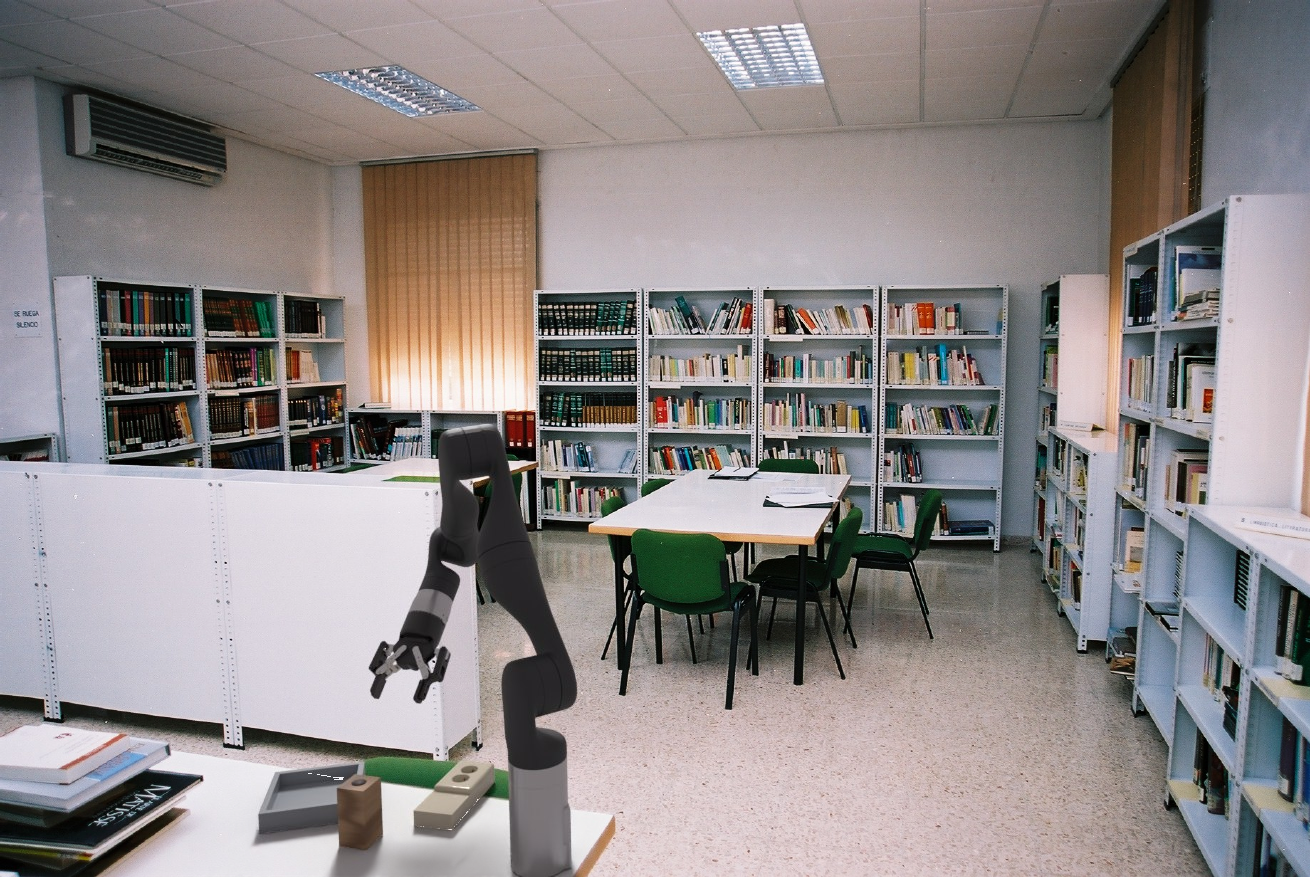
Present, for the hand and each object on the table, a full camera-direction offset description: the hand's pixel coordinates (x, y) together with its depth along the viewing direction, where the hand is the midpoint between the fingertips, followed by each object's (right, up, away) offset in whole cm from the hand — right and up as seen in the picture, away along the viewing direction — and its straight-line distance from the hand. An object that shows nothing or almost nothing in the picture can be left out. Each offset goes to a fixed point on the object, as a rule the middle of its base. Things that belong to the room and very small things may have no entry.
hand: (395, 699), depth 150 cm
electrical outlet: (+10, -20, +2) cm, 23 cm away
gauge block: (-3, -20, -10) cm, 23 cm away
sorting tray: (-15, -20, +2) cm, 25 cm away
